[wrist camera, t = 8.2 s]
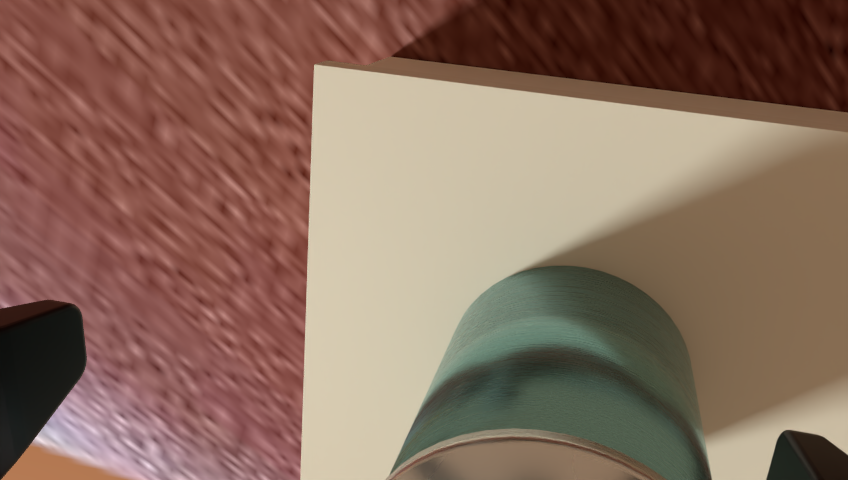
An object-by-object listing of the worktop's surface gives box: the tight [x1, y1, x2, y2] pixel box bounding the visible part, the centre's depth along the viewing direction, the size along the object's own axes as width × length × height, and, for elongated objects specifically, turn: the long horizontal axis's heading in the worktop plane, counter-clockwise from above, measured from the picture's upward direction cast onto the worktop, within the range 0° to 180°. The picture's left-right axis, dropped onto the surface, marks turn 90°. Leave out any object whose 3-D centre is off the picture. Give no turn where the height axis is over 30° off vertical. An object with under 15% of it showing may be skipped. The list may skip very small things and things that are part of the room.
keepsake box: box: [300, 57, 848, 480], centre depth 20 cm, size 13×13×5 cm
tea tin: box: [386, 266, 712, 480], centre depth 14 cm, size 6×6×7 cm
